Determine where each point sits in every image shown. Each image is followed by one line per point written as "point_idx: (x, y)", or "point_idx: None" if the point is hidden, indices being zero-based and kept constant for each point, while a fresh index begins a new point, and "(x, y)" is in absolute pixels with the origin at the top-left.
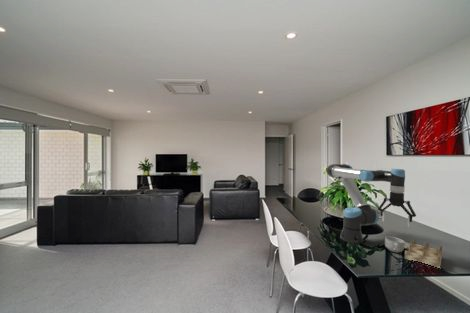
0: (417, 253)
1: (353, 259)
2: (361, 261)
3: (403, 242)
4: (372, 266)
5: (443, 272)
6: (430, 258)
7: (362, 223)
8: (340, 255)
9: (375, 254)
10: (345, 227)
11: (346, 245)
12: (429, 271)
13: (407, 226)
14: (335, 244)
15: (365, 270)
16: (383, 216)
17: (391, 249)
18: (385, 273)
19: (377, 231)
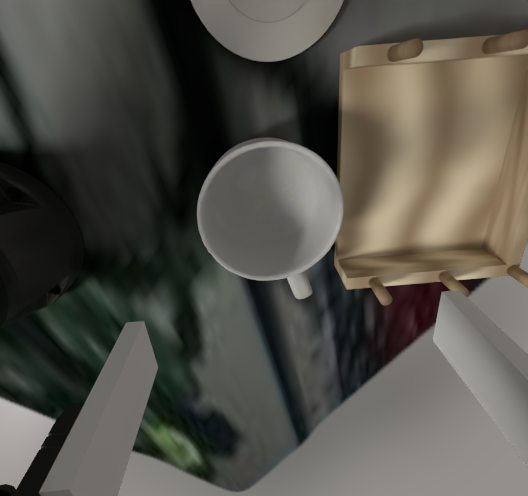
0: (397, 144)
1: (182, 439)
2: (209, 431)
3: (327, 178)
4: (253, 435)
5: None
6: (470, 276)
7: None
8: None
9: (215, 333)
10: None
11: (66, 347)
12: (434, 315)
13: (435, 343)
14: (30, 378)
15: (249, 469)
16: (130, 443)
17: (263, 245)
18: (301, 444)
19: None
